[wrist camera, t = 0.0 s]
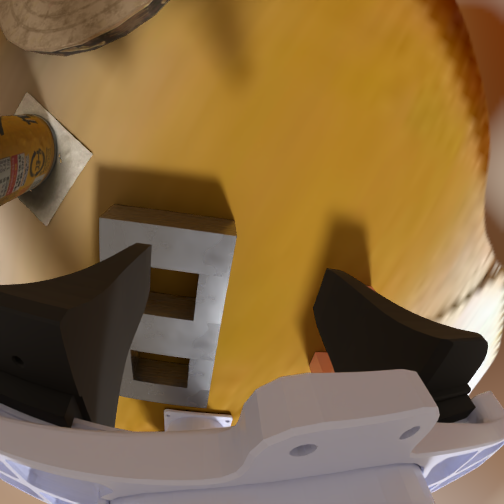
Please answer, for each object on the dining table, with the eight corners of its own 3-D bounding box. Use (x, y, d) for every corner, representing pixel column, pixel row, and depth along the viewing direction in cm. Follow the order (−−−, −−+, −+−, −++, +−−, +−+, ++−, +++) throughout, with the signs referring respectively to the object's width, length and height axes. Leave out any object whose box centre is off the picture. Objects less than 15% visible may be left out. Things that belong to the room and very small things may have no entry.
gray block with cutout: (206, 385, 29) (206, 408, 26) (122, 373, 27) (116, 395, 24) (234, 220, 22) (236, 236, 19) (114, 204, 20) (99, 217, 17)
